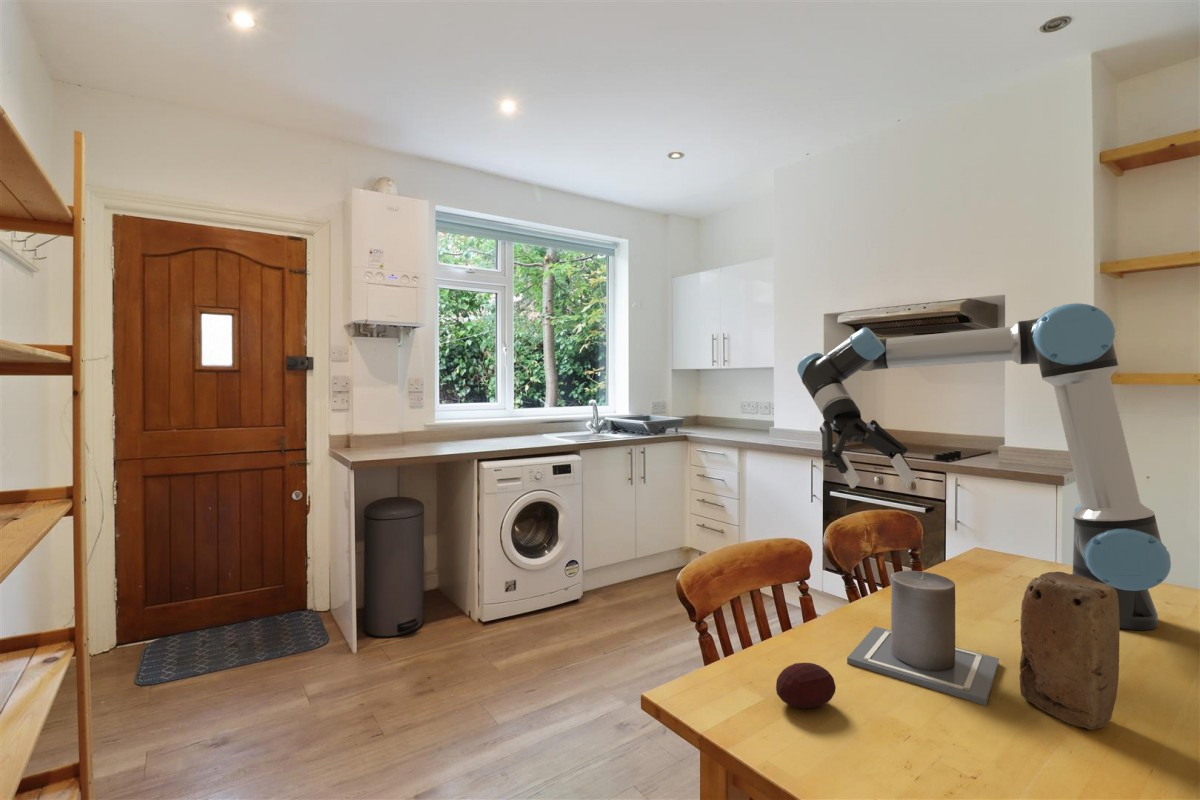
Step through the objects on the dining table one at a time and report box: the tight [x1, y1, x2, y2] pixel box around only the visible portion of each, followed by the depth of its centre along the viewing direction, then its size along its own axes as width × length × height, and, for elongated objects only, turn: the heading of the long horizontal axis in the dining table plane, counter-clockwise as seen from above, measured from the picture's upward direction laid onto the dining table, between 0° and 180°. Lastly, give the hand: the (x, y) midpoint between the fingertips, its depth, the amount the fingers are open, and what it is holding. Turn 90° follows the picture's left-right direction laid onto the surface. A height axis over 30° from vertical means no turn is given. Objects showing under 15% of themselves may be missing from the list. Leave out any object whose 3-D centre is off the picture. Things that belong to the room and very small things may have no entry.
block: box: [1019, 571, 1121, 731], centre depth 84 cm, size 11×8×20 cm
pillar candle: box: [890, 570, 956, 671], centre depth 99 cm, size 10×10×15 cm
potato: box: [775, 662, 837, 709], centre depth 86 cm, size 8×9×6 cm
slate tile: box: [846, 625, 1000, 706], centre depth 99 cm, size 20×17×1 cm
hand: (883, 483), depth 119 cm, fingers open, 13 cm apart
